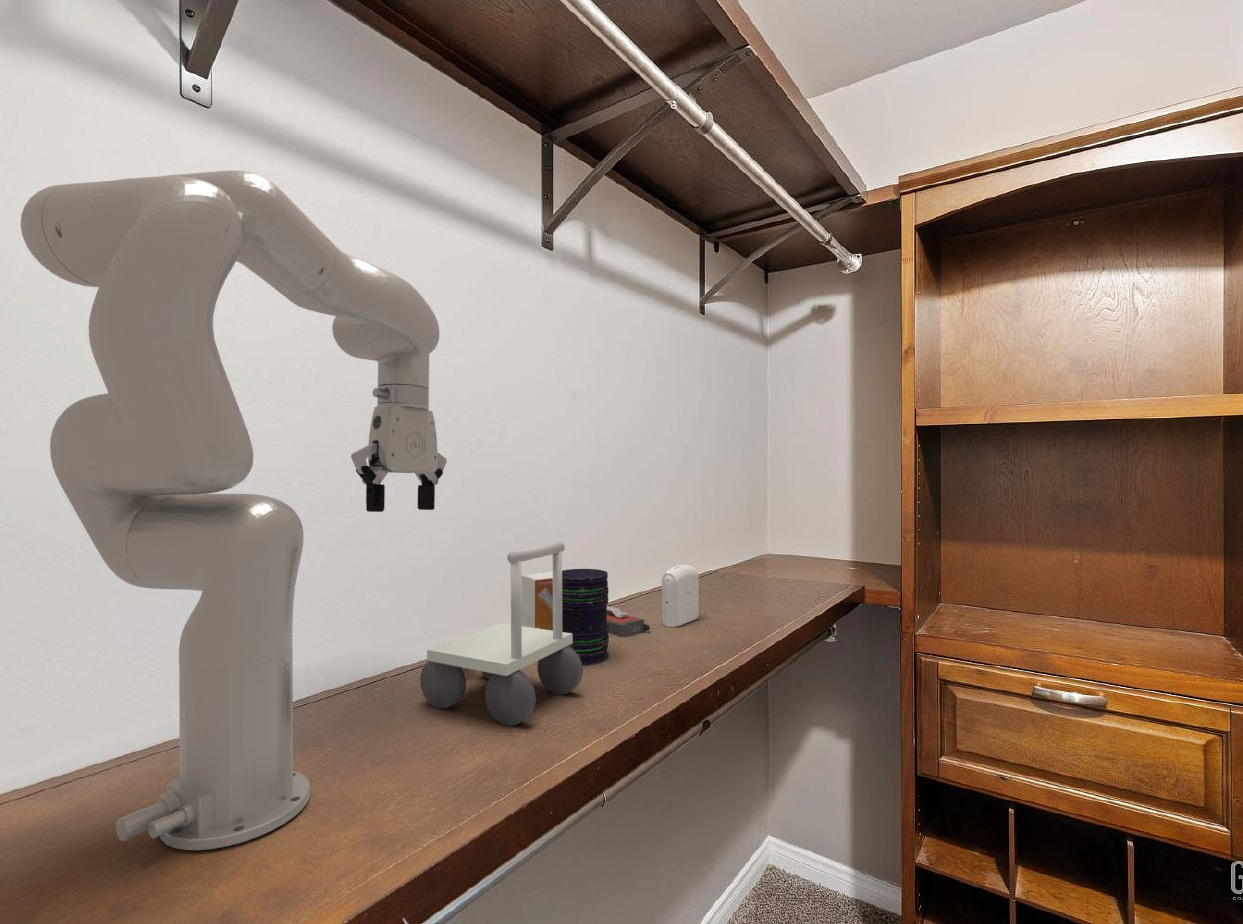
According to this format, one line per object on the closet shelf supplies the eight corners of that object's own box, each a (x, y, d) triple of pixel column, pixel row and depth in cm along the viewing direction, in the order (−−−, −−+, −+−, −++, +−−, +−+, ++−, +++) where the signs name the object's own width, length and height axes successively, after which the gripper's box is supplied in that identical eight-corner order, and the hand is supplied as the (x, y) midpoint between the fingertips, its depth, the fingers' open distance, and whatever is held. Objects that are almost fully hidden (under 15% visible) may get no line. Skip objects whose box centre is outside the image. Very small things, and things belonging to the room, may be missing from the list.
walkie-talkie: (657, 632, 125) (596, 615, 140) (657, 611, 125) (596, 596, 140) (626, 641, 119) (565, 621, 134) (626, 618, 119) (565, 602, 134)
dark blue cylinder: (600, 646, 114) (599, 567, 115) (616, 662, 105) (615, 576, 105) (548, 651, 111) (548, 570, 111) (560, 668, 102) (559, 580, 102)
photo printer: (676, 629, 126) (675, 569, 126) (659, 625, 129) (658, 567, 129) (701, 619, 134) (701, 563, 134) (685, 616, 137) (685, 561, 137)
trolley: (522, 733, 77) (521, 555, 77) (414, 707, 86) (413, 547, 86) (586, 691, 91) (585, 541, 92) (488, 672, 100) (487, 535, 100)
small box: (534, 649, 113) (534, 579, 113) (520, 641, 118) (520, 574, 118) (572, 642, 117) (572, 575, 117) (557, 634, 123) (557, 570, 123)
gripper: (372, 390, 85) (370, 513, 84) (461, 405, 100) (460, 509, 99) (338, 394, 88) (335, 512, 87) (428, 408, 103) (427, 508, 102)
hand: (401, 510), depth 93 cm, fingers open, 9 cm apart
